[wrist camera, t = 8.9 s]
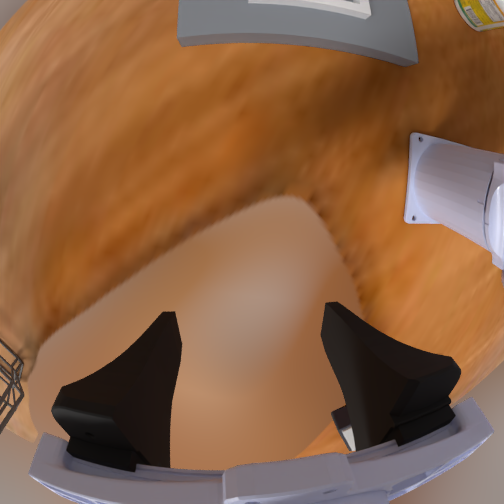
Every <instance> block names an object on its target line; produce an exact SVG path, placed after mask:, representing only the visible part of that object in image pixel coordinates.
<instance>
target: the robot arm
mask: <svg viewBox="0 0 504 504" xmlns="http://www.w3.org/2000/svg"><path fill="white" fill-rule="evenodd" d="M419 137H420V141H419ZM413 216H414V218H413V219H412V217H413ZM404 221H405V222H407V223H430V224H443V225H445V226H446V227H448V228H450V229H452V230H454V231H456V232H457V233H459V234H461V235H463V236H465V237H466V238H468V239H470V240H472V241H473V242H475V243H477V244H478V245H480V246H482V247H483V248H485V249H487V250H488V251H490V252H491V253H492V263H493V264H494V265H496V266H497V267H499V268H500V269H501V270H502V283H503V286H504V154H500V153H496V152H491V151H486V150H481V149H476V148H472V147H469V146H465V145H462V144H459V143H455V142H452V141H448V140H445V139H441V138H437V137H433V136H429V135H425V134H420V133H411V135H410V151H409V170H408V183H407V194H406V203H405V212H404ZM321 338H322V341H323V345H324V349H325V352H326V354H327V357H328V359H329V361H330V364H331V366H332V368H333V370H334V373H335V375H336V377H337V379H338V382H339V384H340V387H341V389H342V392H343V395H344V399H345V402H346V406H347V410H348V414H349V418H350V422H351V427H352V432H353V437H354V442H355V449H356V452H353V453H349V454H341V453H336V452H334V453H326V454H320V455H314V456H309V457H303V458H297V459H291V460H283V461H274V462H264V463H251V464H245V465H237V466H235V467H232V468H229V469H227V470H221V471H220V470H219V471H218V470H187V469H174V468H170V421H171V406H172V399H173V394H174V390H175V385H176V380H177V376H178V371H179V367H180V362H181V351H182V342H181V337H180V332H179V328H178V323H177V318H176V314H175V312H162V313H161V314H160V315H159V316H158V318H157V319H156V320H155V321H154V322H153V323H152V324H151V325H150V327H149V328H148V329H147V330H146V331H145V332H144V333H143V334H142V336H141V337H139V338H138V339H137V341H135V342H134V343H133V344H132V345H131V346H130V347H129V348H128V349H127V350H126V351H125V352H123V353H122V354H121V355H120V356H118V357H117V358H116V359H115V360H113V361H112V362H110V363H109V364H107V365H106V366H104V367H103V368H101V369H100V370H98V371H96V372H94V373H93V374H91V375H89V376H87V377H85V378H83V379H81V380H79V381H76V382H73V383H71V384H68V385H66V386H63V387H62V388H61V390H60V392H59V394H58V396H57V398H56V400H55V402H54V405H53V406H52V410H51V412H52V414H53V417H54V418H55V420H56V421H57V422H58V423H59V425H60V426H61V427H62V428H63V429H64V430H65V431H66V432H67V433H68V435H69V436H70V440H69V442H67V441H66V440H64V439H62V438H59V437H56V436H54V435H51V434H48V433H45V432H44V433H43V435H42V437H41V440H40V442H39V444H38V447H37V450H36V453H35V455H34V458H33V461H32V464H31V467H30V470H29V473H28V474H29V475H30V476H31V477H32V478H34V479H35V480H37V481H38V482H39V483H41V484H43V485H44V486H46V487H47V488H48V489H50V490H52V491H53V492H55V493H57V494H58V495H60V496H62V497H64V498H66V499H69V500H71V501H74V502H76V503H79V504H389V501H390V500H392V499H394V498H396V497H399V496H401V495H403V494H405V493H407V492H409V491H411V490H413V489H415V488H417V487H419V486H421V485H423V484H424V483H426V482H428V481H430V480H432V479H434V478H435V477H437V476H439V475H440V474H442V473H444V472H445V471H447V470H449V469H450V468H452V467H453V466H455V465H456V464H458V463H460V462H461V461H463V460H464V459H466V458H467V457H468V456H469V455H470V454H472V453H473V452H474V451H475V450H476V449H477V448H478V447H479V446H480V445H482V444H483V443H484V442H485V441H486V440H487V439H488V438H489V437H490V436H491V435H492V434H493V433H494V429H493V428H492V426H491V424H490V423H489V421H488V420H487V418H486V417H485V415H484V414H483V412H482V411H481V409H480V408H479V406H478V405H477V403H476V402H475V400H474V399H473V397H470V398H468V399H466V400H464V401H463V402H461V403H459V404H457V405H456V406H455V407H453V408H452V409H451V408H450V406H449V404H450V403H451V399H450V398H449V394H450V393H451V391H452V390H453V388H454V387H455V385H456V384H457V382H458V380H459V378H460V375H461V369H460V368H459V366H458V365H457V364H456V362H455V361H454V360H453V359H452V357H449V356H443V355H438V354H433V353H430V352H426V351H423V350H419V349H416V348H414V347H411V346H408V345H406V344H403V343H401V342H399V341H397V340H395V339H393V338H391V337H389V336H387V335H385V334H383V333H382V332H380V331H378V330H377V329H375V328H374V327H372V326H371V325H369V324H368V323H366V322H365V321H363V320H362V319H360V318H359V317H358V316H356V315H355V314H354V313H352V312H351V311H350V310H348V309H347V308H346V307H344V306H343V305H341V304H340V303H338V302H329V303H325V311H324V317H323V323H322V330H321Z"/></svg>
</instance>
